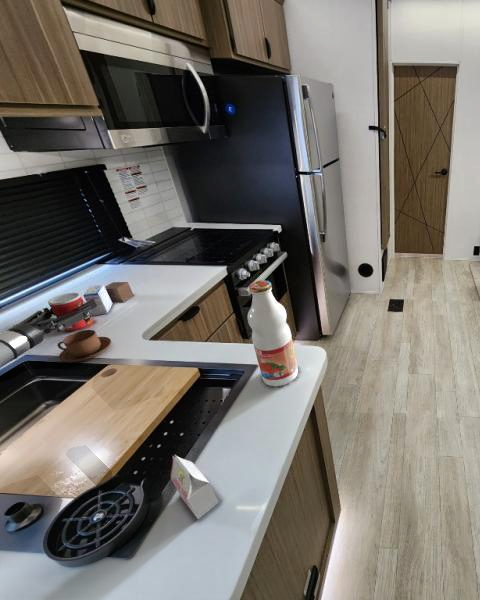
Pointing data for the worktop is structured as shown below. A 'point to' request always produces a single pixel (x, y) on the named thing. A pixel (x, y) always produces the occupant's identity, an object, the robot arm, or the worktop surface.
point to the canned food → (69, 309)
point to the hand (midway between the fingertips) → (82, 302)
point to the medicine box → (99, 299)
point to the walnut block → (119, 291)
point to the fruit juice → (271, 336)
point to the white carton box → (193, 487)
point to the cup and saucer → (83, 346)
